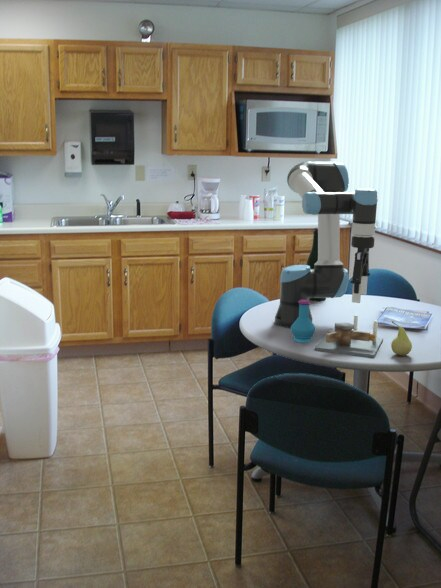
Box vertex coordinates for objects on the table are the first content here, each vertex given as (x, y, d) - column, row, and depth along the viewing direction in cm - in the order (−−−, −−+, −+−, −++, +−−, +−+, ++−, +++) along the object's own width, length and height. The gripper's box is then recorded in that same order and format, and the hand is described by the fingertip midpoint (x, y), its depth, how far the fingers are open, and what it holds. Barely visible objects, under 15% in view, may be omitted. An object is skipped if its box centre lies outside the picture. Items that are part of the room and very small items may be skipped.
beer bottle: (323, 295, 322) (327, 226, 314) (328, 300, 312) (332, 229, 304) (301, 295, 321) (304, 226, 313) (305, 301, 311) (309, 229, 303)
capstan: (324, 347, 239) (325, 329, 238) (334, 335, 254) (335, 317, 253) (371, 353, 234) (372, 334, 232) (378, 340, 249) (379, 322, 247)
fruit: (409, 359, 233) (412, 325, 230) (387, 356, 236) (390, 323, 233) (412, 353, 239) (414, 321, 236) (390, 351, 242) (392, 318, 239)
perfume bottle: (285, 339, 254) (286, 300, 250) (300, 334, 260) (302, 296, 256) (304, 344, 247) (306, 305, 244) (320, 339, 254) (322, 300, 250)
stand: (314, 349, 242) (315, 325, 240) (327, 334, 261) (328, 311, 259) (373, 357, 234) (375, 332, 232) (382, 340, 253) (384, 317, 251)
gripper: (368, 241, 215) (364, 307, 220) (379, 231, 237) (375, 291, 242) (345, 239, 218) (341, 305, 223) (358, 230, 239) (354, 289, 245)
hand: (359, 298), depth 232 cm, fingers open, 12 cm apart
